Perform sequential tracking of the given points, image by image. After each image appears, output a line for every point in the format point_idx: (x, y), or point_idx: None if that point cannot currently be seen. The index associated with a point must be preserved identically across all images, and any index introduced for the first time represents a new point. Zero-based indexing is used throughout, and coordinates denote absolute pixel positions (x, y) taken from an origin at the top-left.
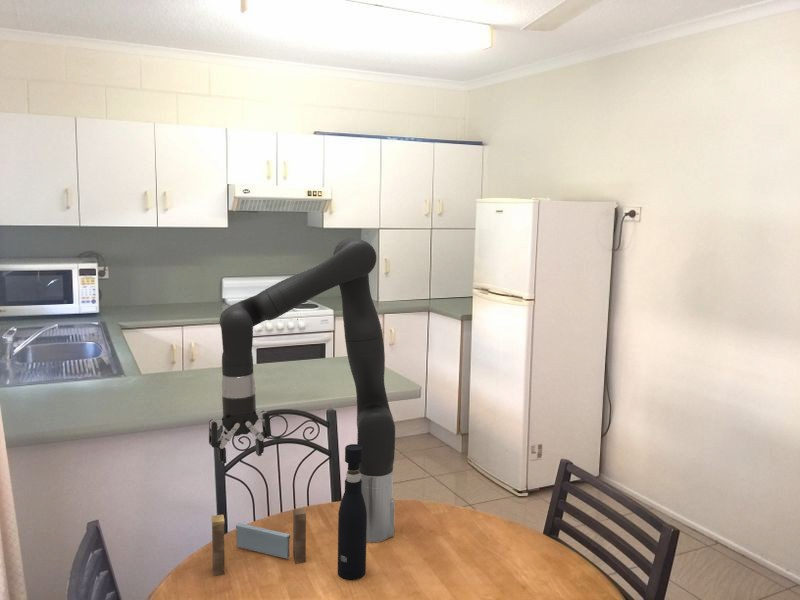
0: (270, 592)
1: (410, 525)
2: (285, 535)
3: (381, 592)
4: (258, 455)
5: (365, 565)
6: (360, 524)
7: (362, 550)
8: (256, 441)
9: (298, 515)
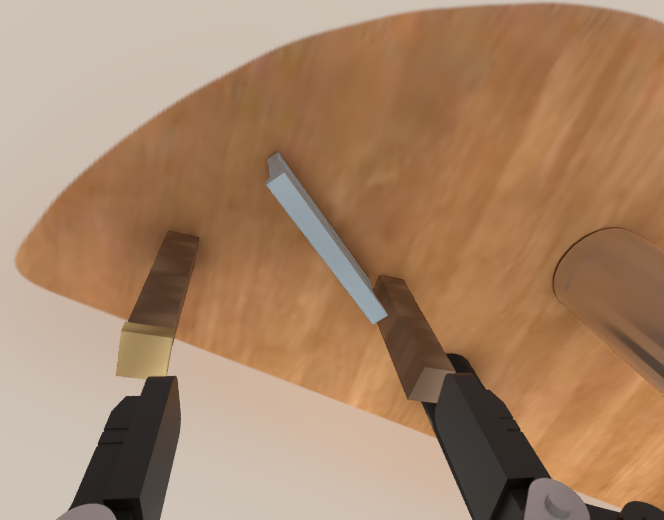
0: (267, 370)
1: None
2: (374, 315)
3: None
4: (436, 417)
5: None
6: None
7: None
8: (491, 485)
9: (415, 398)
